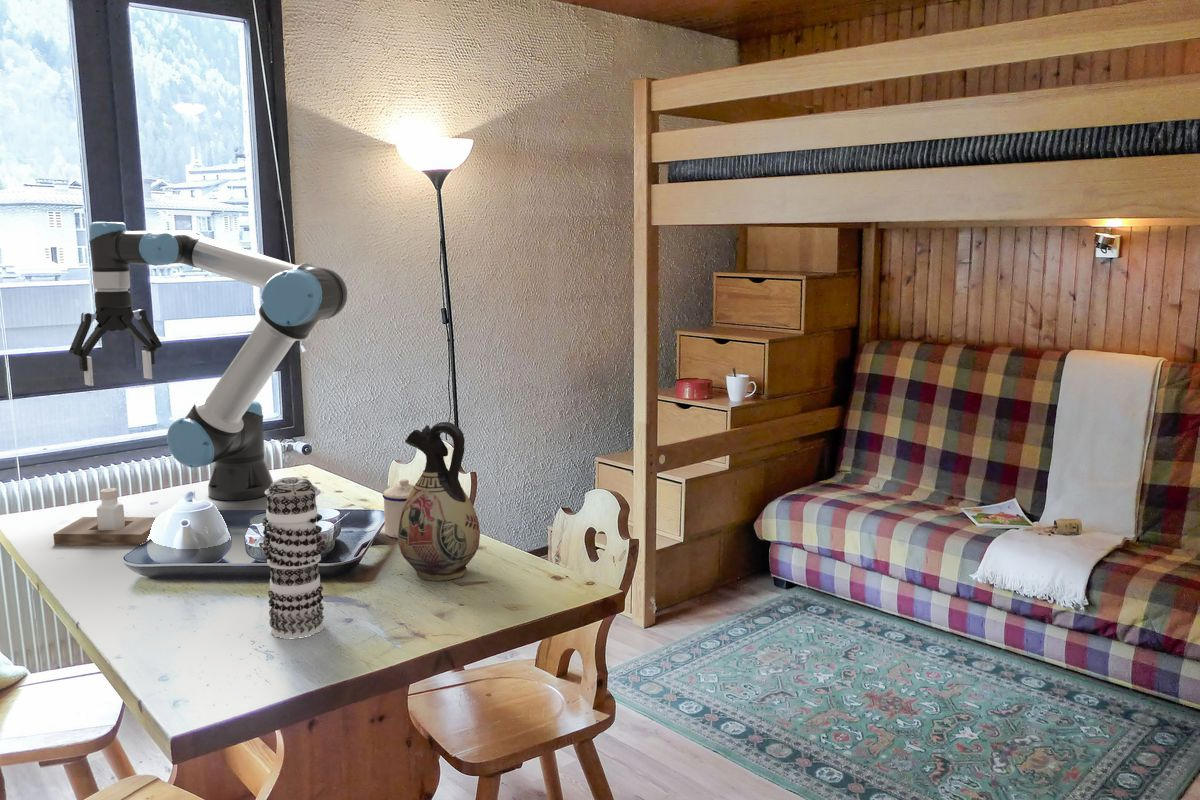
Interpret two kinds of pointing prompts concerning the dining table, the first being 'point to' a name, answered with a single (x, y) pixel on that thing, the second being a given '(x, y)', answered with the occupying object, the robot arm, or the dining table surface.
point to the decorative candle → (293, 558)
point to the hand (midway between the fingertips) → (119, 381)
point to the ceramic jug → (438, 510)
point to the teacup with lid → (395, 505)
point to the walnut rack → (105, 532)
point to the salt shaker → (110, 511)
